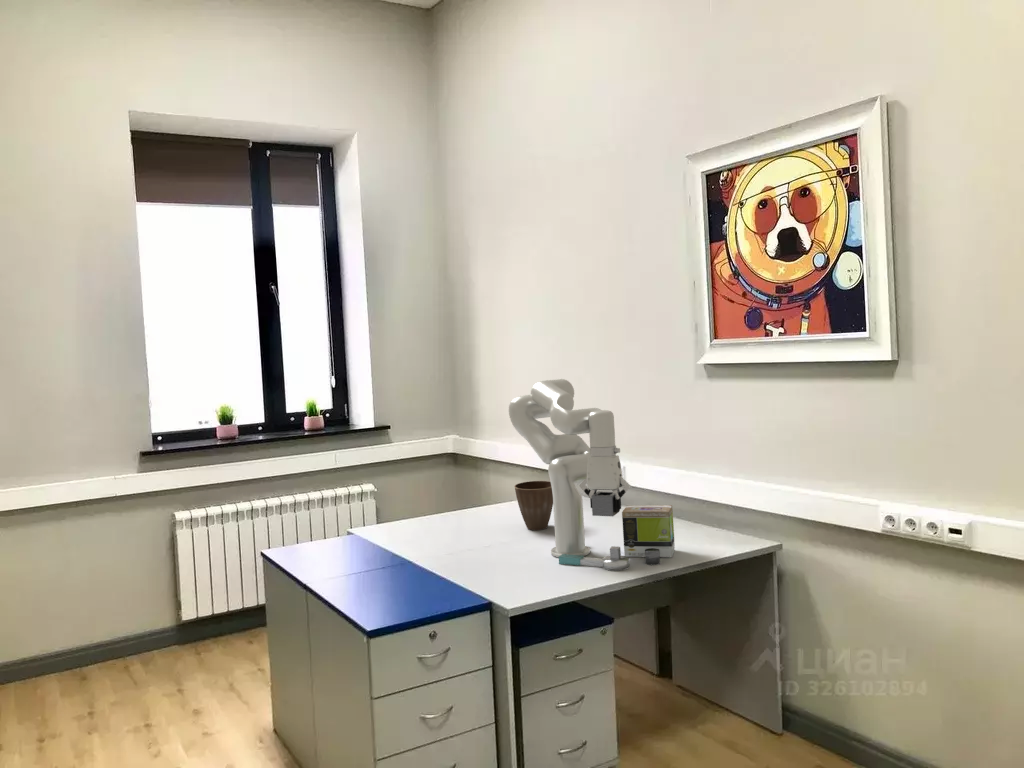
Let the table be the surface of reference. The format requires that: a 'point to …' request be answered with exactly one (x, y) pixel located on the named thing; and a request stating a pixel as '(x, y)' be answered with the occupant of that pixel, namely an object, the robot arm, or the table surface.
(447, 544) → the table surface
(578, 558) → the ratchet
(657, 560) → the socket
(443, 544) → the table surface
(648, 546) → the tea box
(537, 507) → the plant pot
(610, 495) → the socket
